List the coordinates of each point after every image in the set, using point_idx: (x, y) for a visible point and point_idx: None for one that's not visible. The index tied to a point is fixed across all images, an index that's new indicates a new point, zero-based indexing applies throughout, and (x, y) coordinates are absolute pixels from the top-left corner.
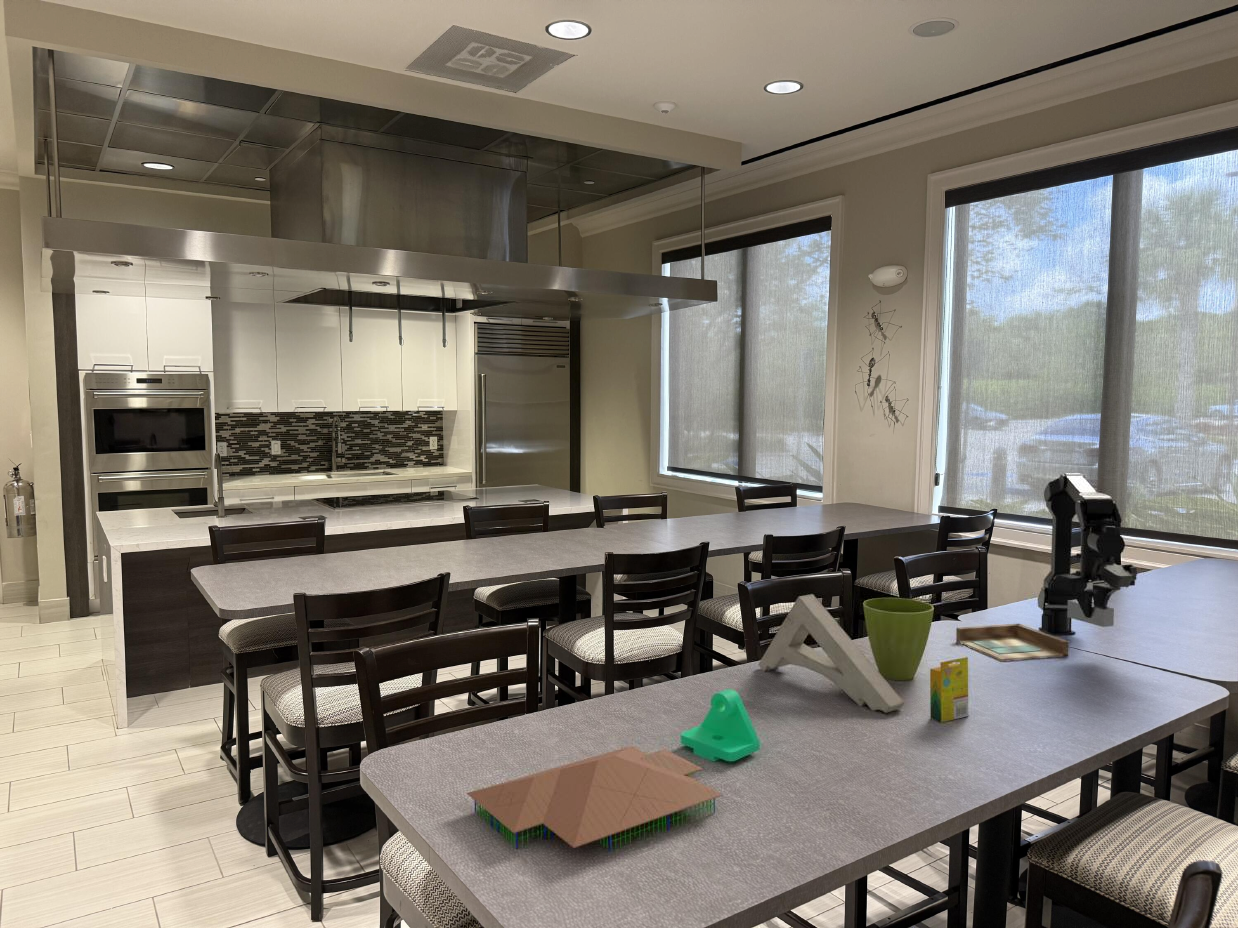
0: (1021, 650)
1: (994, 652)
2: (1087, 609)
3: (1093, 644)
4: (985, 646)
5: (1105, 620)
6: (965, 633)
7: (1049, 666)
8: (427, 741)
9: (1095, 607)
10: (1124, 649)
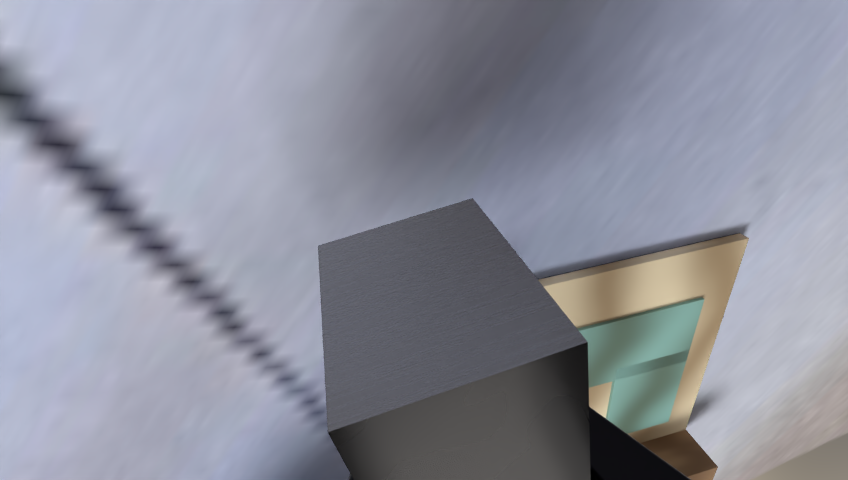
0: (596, 338)
1: (698, 317)
2: (623, 439)
3: (197, 468)
4: (674, 375)
5: (468, 242)
6: (683, 457)
7: (622, 154)
8: None
9: (588, 452)
10: (64, 420)
